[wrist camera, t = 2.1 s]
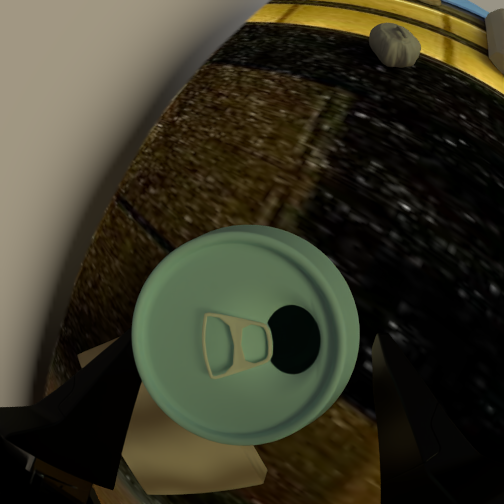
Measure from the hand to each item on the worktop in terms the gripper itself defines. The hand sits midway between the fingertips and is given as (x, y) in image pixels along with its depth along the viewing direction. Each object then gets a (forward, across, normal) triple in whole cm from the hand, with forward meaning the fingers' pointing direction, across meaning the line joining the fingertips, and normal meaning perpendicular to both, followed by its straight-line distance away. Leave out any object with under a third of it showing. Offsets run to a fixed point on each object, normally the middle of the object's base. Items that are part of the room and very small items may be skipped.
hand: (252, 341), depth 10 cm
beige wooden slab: (+1, +8, +12) cm, 15 cm away
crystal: (+33, -39, -20) cm, 55 cm away
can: (+6, 0, +6) cm, 9 cm away
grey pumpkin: (+24, -13, -11) cm, 29 cm away
